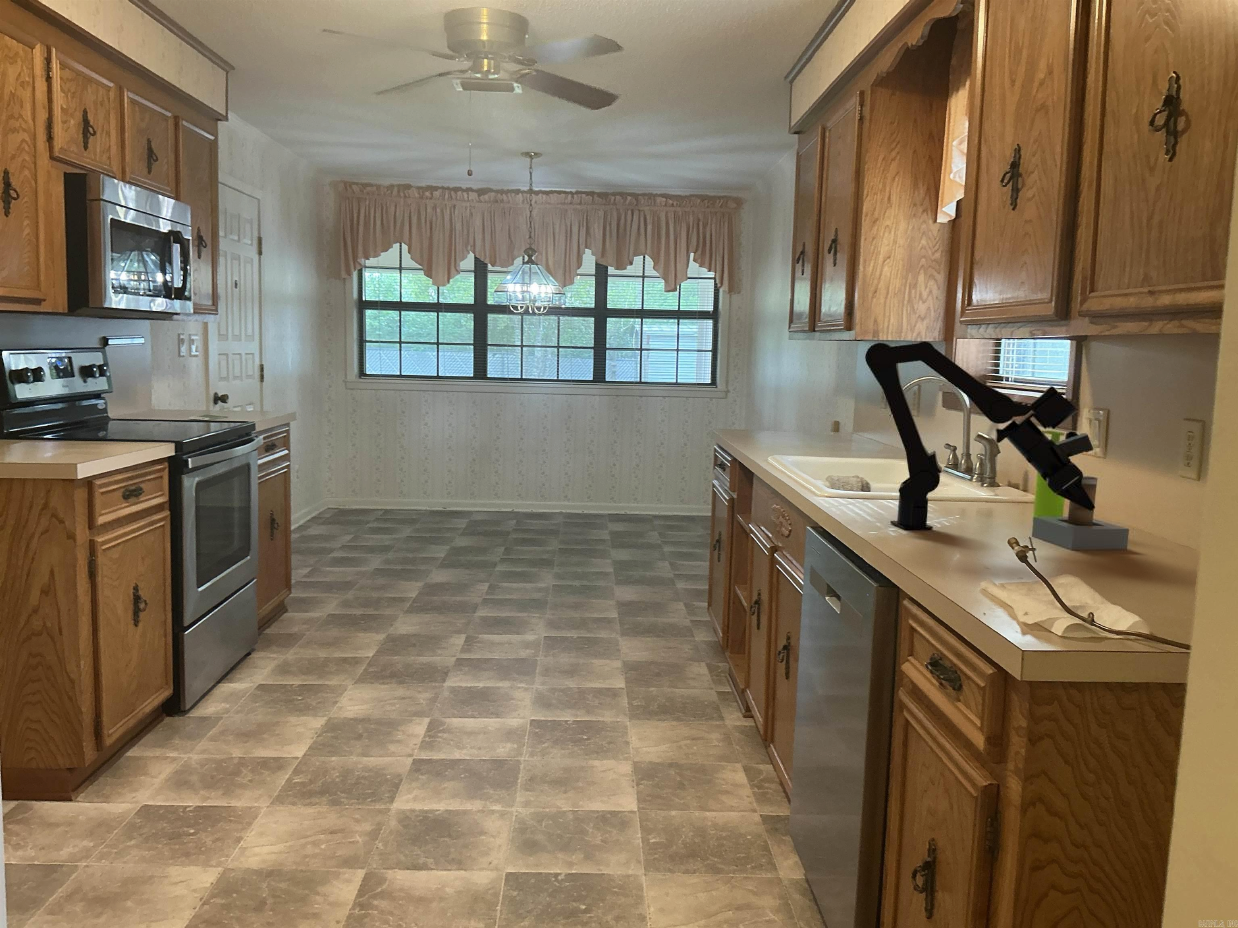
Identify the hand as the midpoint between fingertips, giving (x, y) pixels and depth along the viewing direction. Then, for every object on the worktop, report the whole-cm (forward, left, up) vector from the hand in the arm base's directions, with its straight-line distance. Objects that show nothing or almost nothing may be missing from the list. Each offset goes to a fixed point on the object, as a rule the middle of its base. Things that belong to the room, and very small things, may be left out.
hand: (1089, 505), depth 180 cm
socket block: (-1, -1, -8) cm, 8 cm away
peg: (-1, -1, -8) cm, 8 cm away
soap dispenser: (-21, +6, -8) cm, 23 cm away
